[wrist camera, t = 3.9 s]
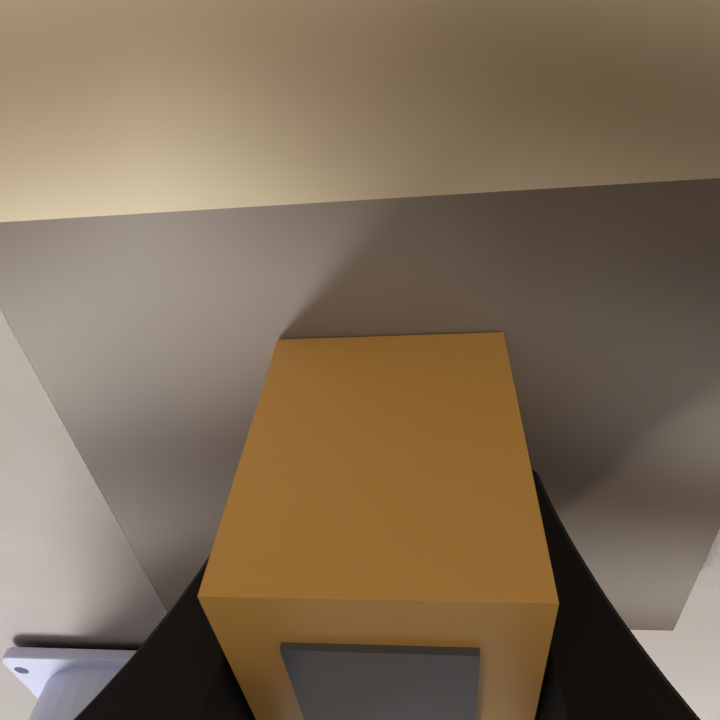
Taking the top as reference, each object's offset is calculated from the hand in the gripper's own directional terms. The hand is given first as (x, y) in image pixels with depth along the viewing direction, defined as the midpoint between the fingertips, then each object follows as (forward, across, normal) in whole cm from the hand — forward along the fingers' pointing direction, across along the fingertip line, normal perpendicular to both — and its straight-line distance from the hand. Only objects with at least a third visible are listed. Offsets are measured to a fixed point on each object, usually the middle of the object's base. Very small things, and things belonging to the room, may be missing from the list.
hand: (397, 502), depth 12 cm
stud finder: (+1, 0, 0) cm, 1 cm away
